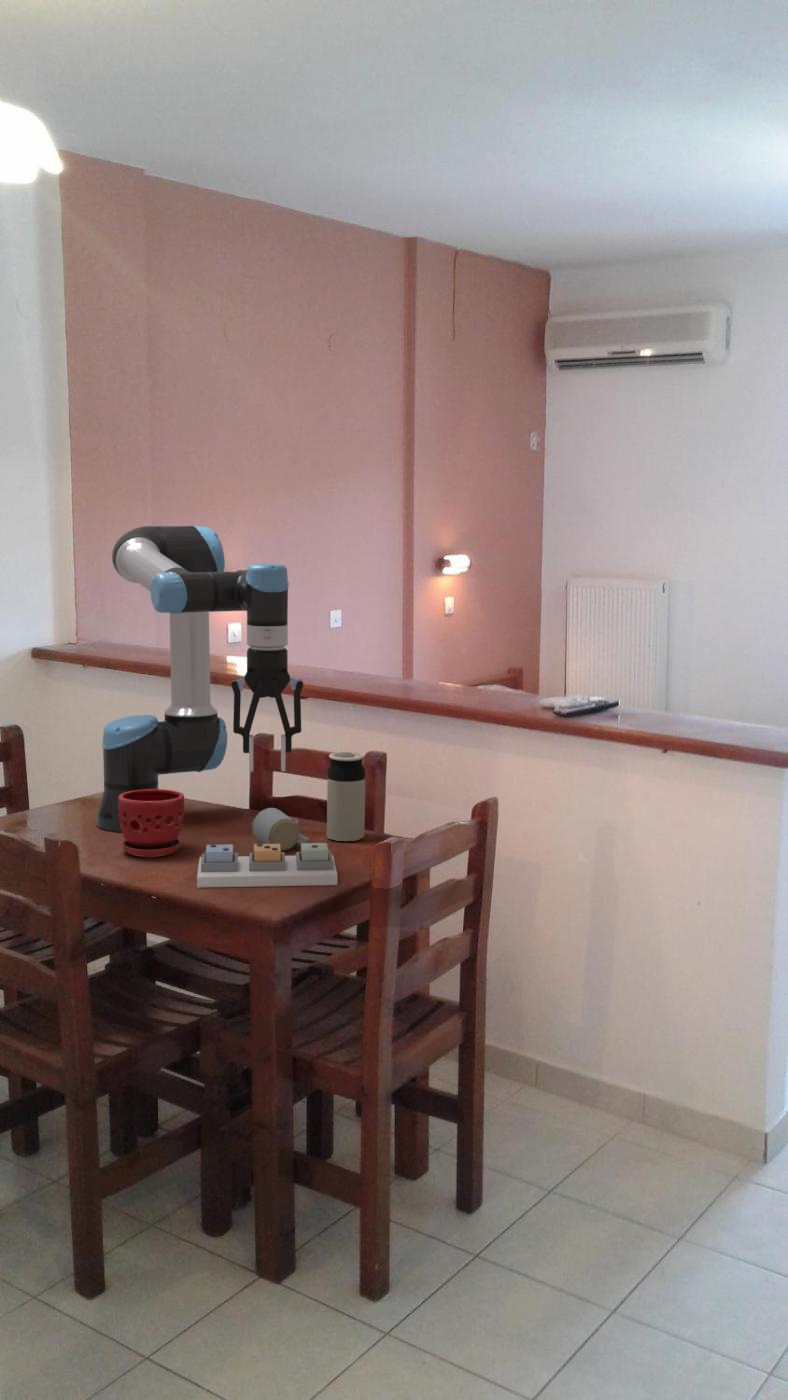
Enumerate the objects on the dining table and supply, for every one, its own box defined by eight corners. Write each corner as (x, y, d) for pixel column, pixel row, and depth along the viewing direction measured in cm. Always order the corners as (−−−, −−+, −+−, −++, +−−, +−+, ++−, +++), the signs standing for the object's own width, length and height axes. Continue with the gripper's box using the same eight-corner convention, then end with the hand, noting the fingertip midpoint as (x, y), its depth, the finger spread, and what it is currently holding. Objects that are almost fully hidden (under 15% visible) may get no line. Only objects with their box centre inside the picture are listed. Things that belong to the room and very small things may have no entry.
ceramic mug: (269, 855, 256) (270, 818, 255) (251, 845, 263) (252, 809, 261) (315, 849, 261) (316, 812, 260) (297, 839, 268) (298, 804, 267)
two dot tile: (206, 854, 243) (206, 843, 242) (233, 854, 243) (232, 843, 243) (205, 862, 238) (205, 851, 237) (232, 861, 238) (232, 850, 238)
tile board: (199, 866, 247) (199, 849, 246) (332, 864, 250) (333, 847, 249) (197, 887, 234) (196, 868, 234) (337, 884, 237) (337, 866, 237)
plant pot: (193, 856, 254) (192, 798, 252) (128, 863, 248) (127, 804, 246) (174, 839, 266) (173, 784, 264) (112, 846, 260) (110, 789, 258)
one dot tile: (300, 853, 245) (300, 842, 244) (326, 852, 245) (326, 842, 245) (301, 860, 240) (301, 849, 239) (328, 860, 240) (328, 849, 240)
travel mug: (329, 843, 265) (329, 759, 262) (324, 833, 273) (325, 751, 270) (366, 842, 266) (368, 758, 263) (361, 832, 274) (362, 750, 271)
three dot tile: (253, 854, 244) (253, 843, 243) (280, 853, 244) (280, 842, 244) (254, 861, 239) (254, 850, 238) (280, 861, 239) (280, 849, 239)
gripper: (217, 649, 230) (217, 774, 234) (317, 650, 232) (316, 773, 236) (218, 644, 237) (218, 765, 241) (315, 645, 240) (314, 765, 243)
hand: (267, 769), depth 239 cm, fingers open, 5 cm apart
